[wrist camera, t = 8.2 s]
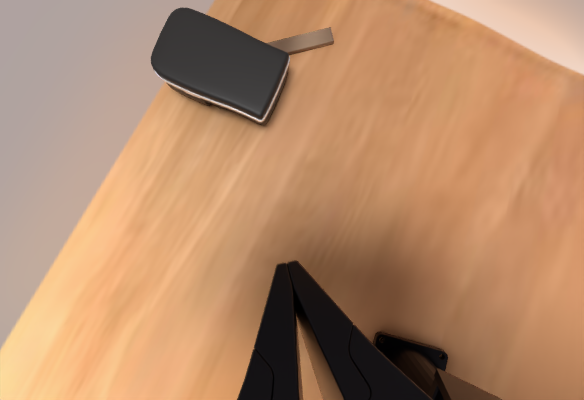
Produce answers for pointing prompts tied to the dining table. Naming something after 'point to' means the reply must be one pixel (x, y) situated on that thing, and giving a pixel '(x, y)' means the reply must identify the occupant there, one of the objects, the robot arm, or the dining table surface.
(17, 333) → the dining table surface
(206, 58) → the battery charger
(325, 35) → the walnut strip
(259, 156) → the dining table surface
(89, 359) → the dining table surface
